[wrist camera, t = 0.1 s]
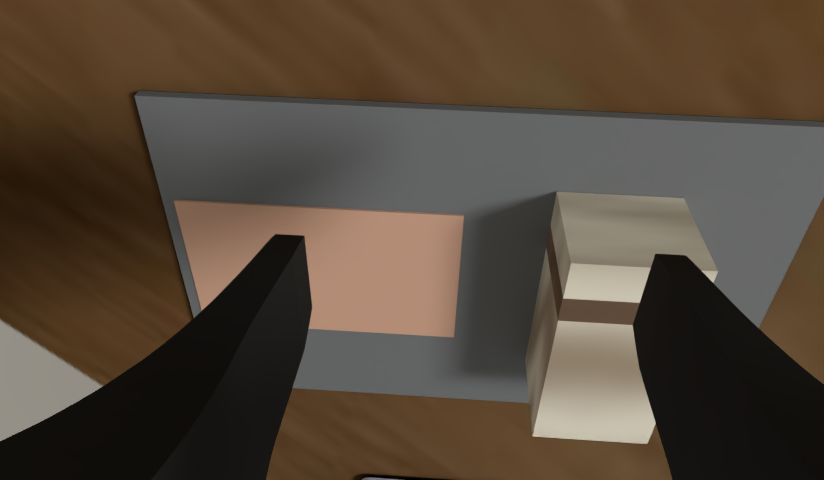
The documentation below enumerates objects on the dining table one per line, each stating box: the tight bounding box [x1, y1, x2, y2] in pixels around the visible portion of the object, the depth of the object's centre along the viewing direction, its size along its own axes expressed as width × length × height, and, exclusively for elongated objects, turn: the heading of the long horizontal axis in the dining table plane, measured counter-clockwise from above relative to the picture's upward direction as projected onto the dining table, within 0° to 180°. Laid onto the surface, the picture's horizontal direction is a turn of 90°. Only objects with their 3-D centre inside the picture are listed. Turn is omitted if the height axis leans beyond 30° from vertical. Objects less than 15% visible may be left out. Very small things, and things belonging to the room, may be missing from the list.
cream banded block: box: [525, 192, 718, 444], centre depth 24 cm, size 9×4×4 cm, turn 179°
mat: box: [134, 91, 824, 403], centre depth 26 cm, size 15×24×1 cm, turn 89°
